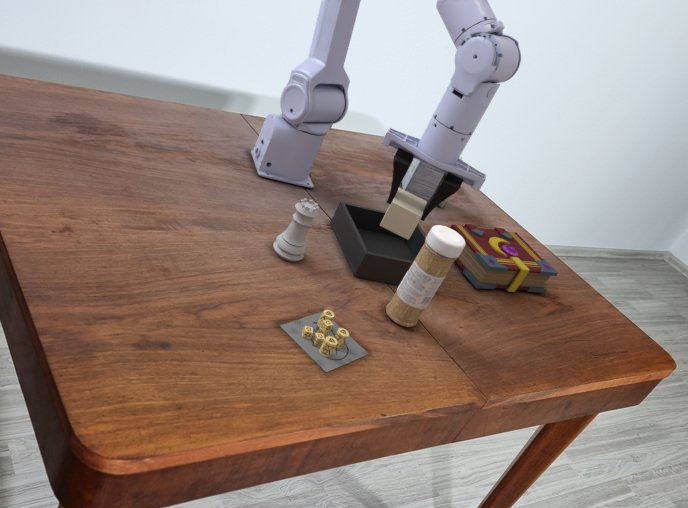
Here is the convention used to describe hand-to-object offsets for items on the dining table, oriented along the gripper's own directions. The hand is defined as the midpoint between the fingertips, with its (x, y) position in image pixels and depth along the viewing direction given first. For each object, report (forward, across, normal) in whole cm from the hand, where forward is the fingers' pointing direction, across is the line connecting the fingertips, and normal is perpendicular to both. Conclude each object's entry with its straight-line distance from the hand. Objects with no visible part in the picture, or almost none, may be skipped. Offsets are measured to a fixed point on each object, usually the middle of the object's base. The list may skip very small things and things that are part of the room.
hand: (406, 209), depth 100 cm
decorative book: (+8, -17, -14) cm, 24 cm away
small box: (+3, 0, 0) cm, 3 cm away
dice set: (+8, +2, +26) cm, 27 cm away
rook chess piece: (+8, +12, +12) cm, 19 cm away
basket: (+8, 0, 0) cm, 8 cm away
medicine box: (+8, -2, -29) cm, 30 cm away
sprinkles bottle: (+8, -6, +13) cm, 17 cm away
